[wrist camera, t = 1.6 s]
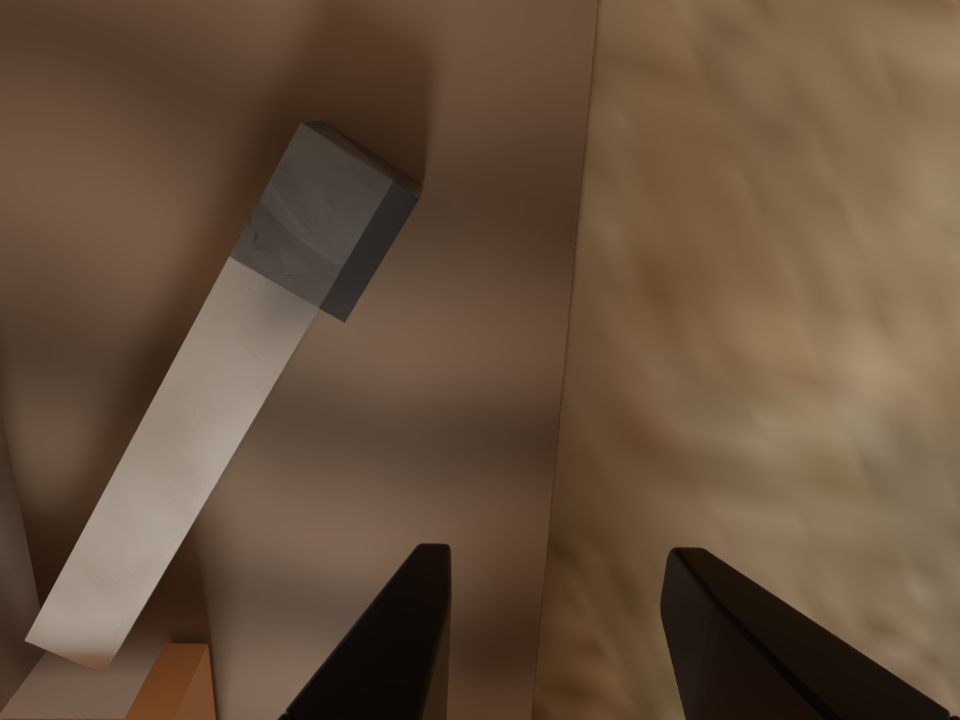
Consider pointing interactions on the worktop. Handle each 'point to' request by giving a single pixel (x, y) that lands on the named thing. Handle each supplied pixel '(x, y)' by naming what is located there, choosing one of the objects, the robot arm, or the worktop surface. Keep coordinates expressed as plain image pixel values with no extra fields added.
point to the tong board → (326, 345)
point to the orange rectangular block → (173, 687)
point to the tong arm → (226, 378)
